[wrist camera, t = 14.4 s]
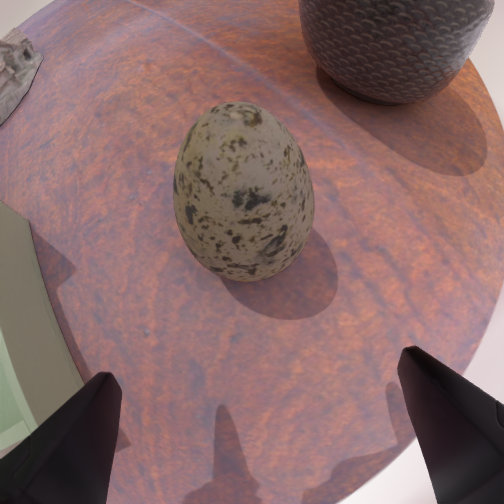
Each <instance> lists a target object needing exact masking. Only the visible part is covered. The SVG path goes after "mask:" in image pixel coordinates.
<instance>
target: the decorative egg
mask: <svg viewBox="0 0 504 504" xmlns="http://www.w3.org/2000/svg"><path fill="white" fill-rule="evenodd" d="M173 198H174V209H175V215H176V220H177V224H178V227H179V230H180V232H181V235H182V237H183V239H184V241H185V243H186V245H187V247H188V248H189V250H190V251H191V253H192V254H193V255H194V256H195V258H196V259H197V260H198V261H199V262H200V263H201V264H202V265H203V266H204V267H206V268H207V269H209V270H210V271H211V272H213V273H215V274H217V275H219V276H221V277H224V278H226V279H230V280H234V281H241V282H251V281H259V280H263V279H266V278H269V277H272V276H274V275H276V274H278V273H279V272H281V271H283V270H284V269H285V268H287V267H288V266H289V265H290V264H291V263H292V262H293V261H294V260H295V259H296V258H297V257H298V255H299V254H300V253H301V251H302V250H303V248H304V246H305V244H306V242H307V240H308V237H309V235H310V231H311V228H312V224H313V218H314V193H313V186H312V181H311V177H310V173H309V170H308V167H307V164H306V161H305V158H304V156H303V153H302V151H301V149H300V147H299V145H298V144H297V142H296V140H295V139H294V137H293V136H292V134H291V133H290V131H289V130H288V129H287V128H286V127H285V126H284V124H283V123H282V122H281V121H280V120H278V119H277V118H276V117H275V116H274V115H273V114H271V113H270V112H268V111H267V110H265V109H263V108H261V107H259V106H257V105H254V104H251V103H247V102H236V101H234V102H227V103H223V104H220V105H217V106H215V107H213V108H211V109H209V110H208V111H206V112H205V113H204V114H203V115H202V116H200V117H199V118H198V120H197V121H196V122H195V123H194V124H193V126H192V127H191V128H190V130H189V131H188V133H187V135H186V137H185V139H184V141H183V143H182V146H181V148H180V151H179V154H178V157H177V161H176V166H175V172H174V183H173Z"/></svg>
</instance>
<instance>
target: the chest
mask: <svg viewBox="0 0 504 504" xmlns="http://www.w3.org/2000/svg"><path fill="white" fill-rule="evenodd" d="M84 385H85V384H84V382H83V380H82V378H81V376H80V374H79V372H78V370H77V367H76V365H75V363H74V361H73V359H72V357H71V354H70V352H69V350H68V347H67V345H66V343H65V340H64V338H63V335H62V333H61V330H60V328H59V325H58V322H57V320H56V317H55V314H54V312H53V309H52V306H51V303H50V300H49V297H48V294H47V291H46V288H45V284H44V281H43V278H42V274H41V271H40V267H39V264H38V260H37V256H36V252H35V248H34V244H33V240H32V235H31V231H30V226H29V221H28V220H27V219H25V218H24V217H22V216H21V215H20V214H18V213H17V212H16V211H14V210H13V209H11V208H10V207H9V206H7V205H6V204H5V203H3V202H2V201H1V200H0V459H1V458H2V457H4V456H5V455H6V454H8V453H9V452H10V451H11V450H13V449H14V448H15V447H16V446H17V445H18V444H20V443H21V442H22V441H23V440H24V439H25V438H26V437H27V436H29V435H30V434H31V433H32V432H33V431H34V430H35V429H36V428H37V427H39V426H40V425H41V424H42V423H43V422H44V421H45V420H46V419H47V418H48V417H50V416H51V415H52V414H53V413H54V412H55V411H56V410H57V409H58V408H60V407H61V406H62V405H63V404H64V403H65V402H66V401H67V400H68V399H70V398H71V397H72V396H73V395H74V394H75V393H76V392H77V391H79V390H80V389H81V388H82V387H83V386H84Z"/></svg>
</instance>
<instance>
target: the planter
mask: <svg viewBox="0 0 504 504" xmlns="http://www.w3.org/2000/svg"><path fill="white" fill-rule="evenodd" d="M494 4H495V2H494V0H299V14H300V21H301V28H302V34H303V38H304V41H305V44H306V47H307V49H308V51H309V53H310V55H311V56H312V57H313V59H314V60H315V62H316V63H317V64H318V65H319V66H320V67H321V68H322V69H323V70H324V71H325V72H326V73H327V74H328V75H329V76H330V77H331V78H332V80H333V81H334V82H335V83H336V84H337V85H338V86H340V87H341V88H342V89H343V90H345V91H346V92H348V93H350V94H352V95H353V96H355V97H358V98H360V99H362V100H365V101H368V102H371V103H375V104H381V105H398V104H403V103H414V102H420V101H424V100H427V99H429V98H432V97H434V96H436V95H437V94H438V93H440V92H441V91H442V90H443V89H444V88H446V87H447V86H448V85H449V84H450V83H451V81H452V80H453V79H454V78H455V76H456V75H457V74H458V73H459V71H460V70H461V68H462V67H463V65H464V63H465V62H466V60H467V59H468V57H469V55H470V54H471V52H472V50H473V48H474V47H475V45H476V43H477V41H478V39H479V37H480V36H481V34H482V32H483V30H484V28H485V26H486V24H487V22H488V20H489V18H490V16H491V14H492V11H493V8H494Z"/></svg>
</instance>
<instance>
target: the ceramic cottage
mask: <svg viewBox="0 0 504 504" xmlns="http://www.w3.org/2000/svg"><path fill="white" fill-rule="evenodd" d="M42 60H43V55H42V54H41V53H39V52H34V51H33V46H32V44H31V41H29V40H28V38H27V36H26V35H25V34H24V33H23V32H22V31H20V30H19V29H17V28H13V29H12V30H11V31H10V32H9V33H8V34H7V35H6V36H4V37H3V38H2V39H1V40H0V125H1V124H2V123H3V122H4V121H5V120H6V119H7V118H8V117H9V115H10V114H11V113H12V112H13V110H14V109H15V108H16V107H17V106H18V104H19V102H20V101H21V100H22V97H23V96H24V95H25V94H26V92H27V91H28V90H29V87H30V85H31V82H32V80H33V78H34V76H35V73H36V71H37V69H38V67H39V66H40V63H41V61H42Z"/></svg>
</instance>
